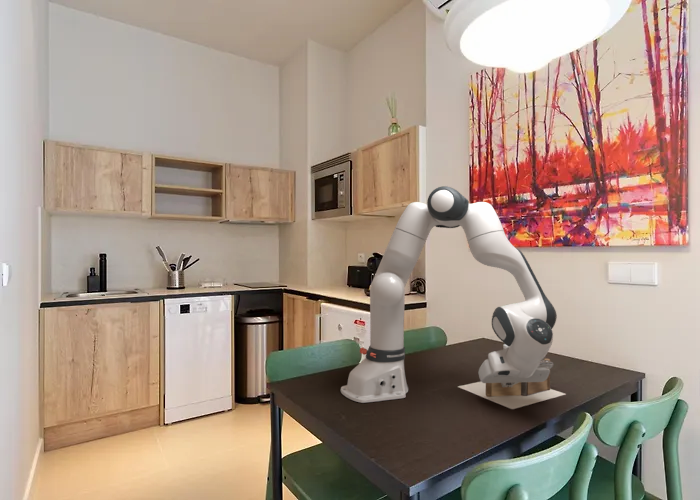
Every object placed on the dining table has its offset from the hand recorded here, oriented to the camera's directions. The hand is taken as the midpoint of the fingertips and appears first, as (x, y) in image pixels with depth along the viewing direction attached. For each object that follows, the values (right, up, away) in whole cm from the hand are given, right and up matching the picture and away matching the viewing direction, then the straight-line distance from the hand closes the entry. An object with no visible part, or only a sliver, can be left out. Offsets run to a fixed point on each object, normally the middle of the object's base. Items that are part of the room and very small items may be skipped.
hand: (506, 385), depth 127 cm
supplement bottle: (+13, -5, +31) cm, 34 cm away
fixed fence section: (+11, -4, +5) cm, 13 cm away
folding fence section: (-1, -3, +1) cm, 4 cm away
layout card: (+4, -4, +6) cm, 9 cm away
